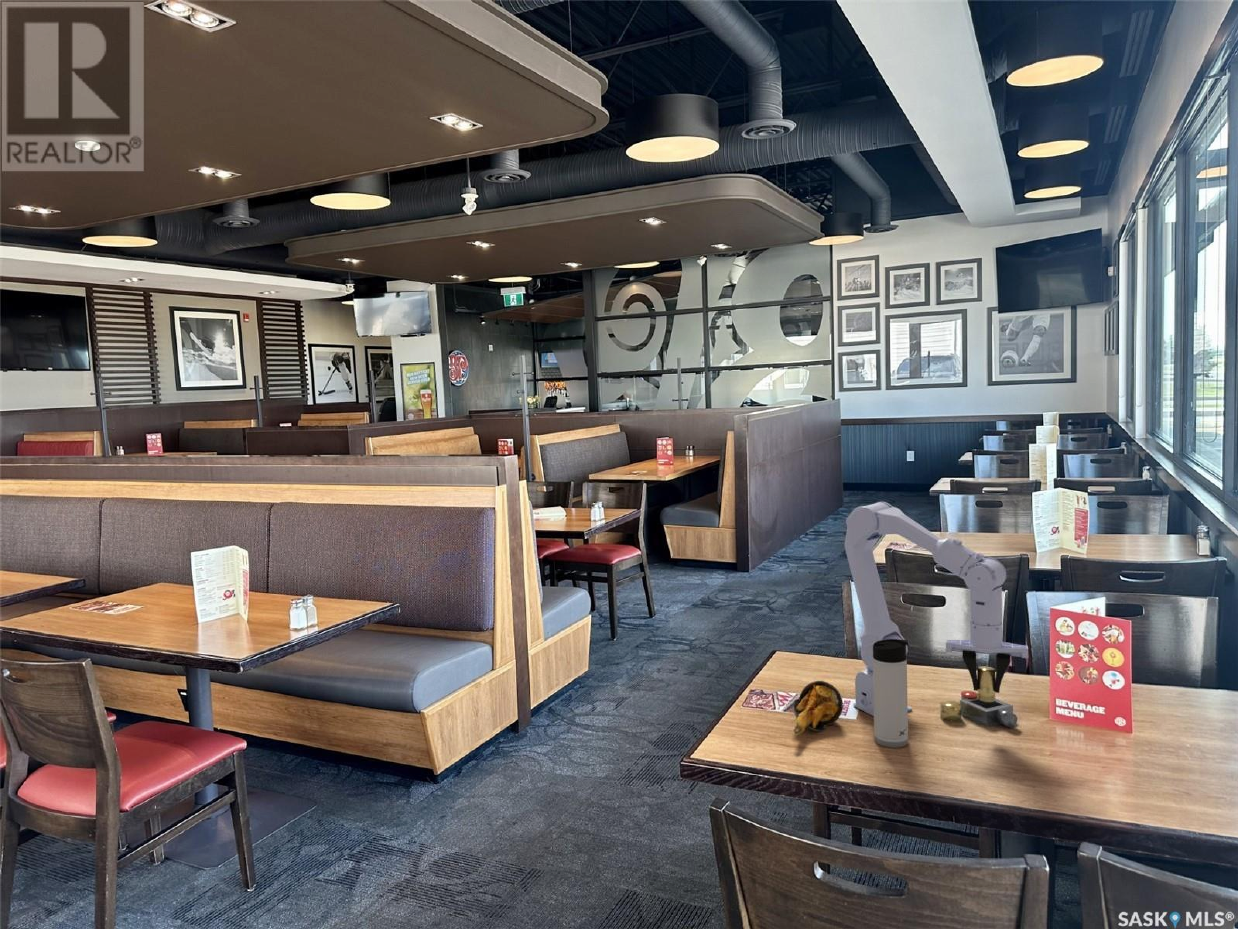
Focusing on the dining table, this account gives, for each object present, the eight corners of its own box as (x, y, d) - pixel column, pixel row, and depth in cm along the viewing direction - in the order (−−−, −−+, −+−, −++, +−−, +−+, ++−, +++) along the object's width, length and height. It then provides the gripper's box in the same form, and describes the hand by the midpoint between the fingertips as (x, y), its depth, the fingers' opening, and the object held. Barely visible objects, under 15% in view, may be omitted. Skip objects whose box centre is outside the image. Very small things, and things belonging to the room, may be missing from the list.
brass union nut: (950, 723, 164) (950, 709, 164) (936, 716, 168) (936, 702, 168) (965, 720, 166) (965, 705, 165) (951, 713, 169) (951, 699, 169)
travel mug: (912, 749, 153) (910, 646, 152) (876, 747, 155) (874, 645, 153) (907, 735, 159) (905, 636, 158) (872, 734, 161) (870, 635, 159)
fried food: (851, 693, 171) (846, 695, 154) (830, 741, 170) (822, 749, 153) (810, 672, 174) (801, 673, 158) (789, 720, 173) (777, 725, 157)
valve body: (998, 732, 159) (998, 714, 159) (950, 710, 171) (950, 694, 170) (1025, 725, 161) (1025, 708, 161) (976, 704, 173) (976, 688, 173)
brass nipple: (986, 703, 156) (986, 673, 155) (973, 697, 159) (973, 668, 158) (999, 700, 157) (999, 670, 156) (986, 695, 160) (986, 665, 159)
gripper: (1026, 619, 157) (1026, 686, 158) (946, 614, 163) (947, 679, 164) (1028, 629, 151) (1028, 699, 152) (945, 623, 157) (945, 691, 158)
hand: (986, 690), depth 158 cm, fingers closed on brass nipple, 3 cm apart
